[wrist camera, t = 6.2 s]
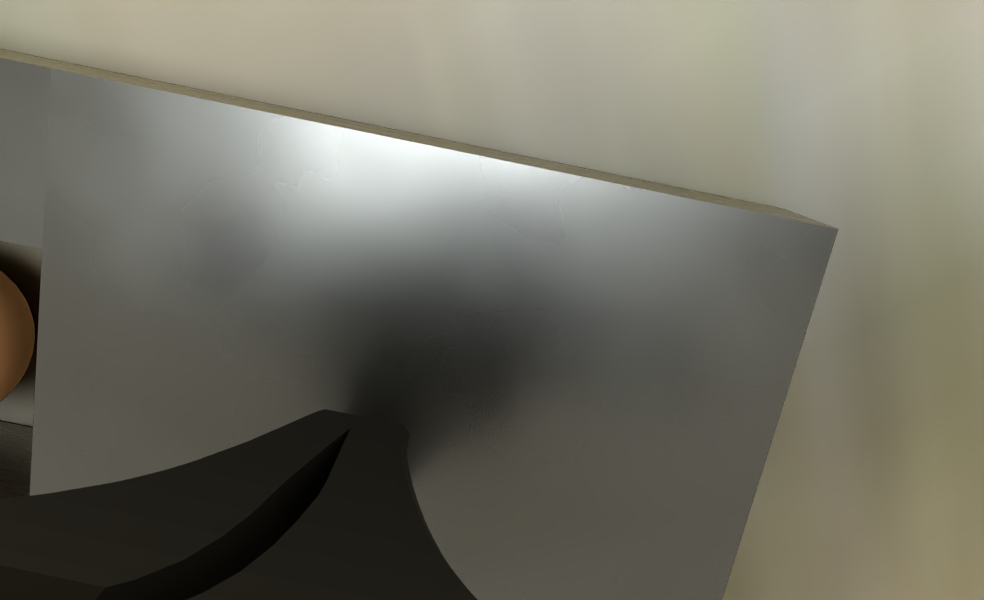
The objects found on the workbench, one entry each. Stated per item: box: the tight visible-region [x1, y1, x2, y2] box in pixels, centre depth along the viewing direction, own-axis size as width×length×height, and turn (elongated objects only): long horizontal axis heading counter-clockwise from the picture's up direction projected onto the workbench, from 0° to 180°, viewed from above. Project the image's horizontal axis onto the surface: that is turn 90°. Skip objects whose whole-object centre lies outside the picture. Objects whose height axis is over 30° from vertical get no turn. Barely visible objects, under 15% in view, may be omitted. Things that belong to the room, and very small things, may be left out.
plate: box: [0, 49, 838, 600], centre depth 13 cm, size 18×10×2 cm, turn 79°
